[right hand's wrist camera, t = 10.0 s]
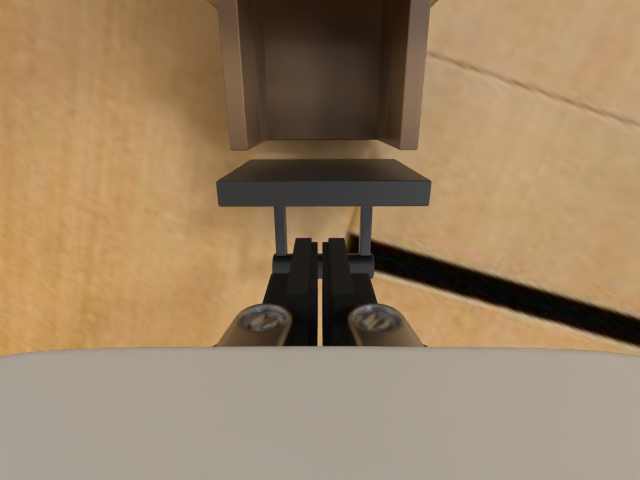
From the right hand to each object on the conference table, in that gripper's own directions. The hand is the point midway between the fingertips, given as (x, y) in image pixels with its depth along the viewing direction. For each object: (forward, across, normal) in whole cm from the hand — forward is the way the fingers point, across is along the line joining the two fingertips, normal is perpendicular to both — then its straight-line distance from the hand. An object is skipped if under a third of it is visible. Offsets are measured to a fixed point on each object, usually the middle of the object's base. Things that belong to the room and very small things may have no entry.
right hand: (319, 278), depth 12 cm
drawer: (+13, 0, -5) cm, 14 cm away
